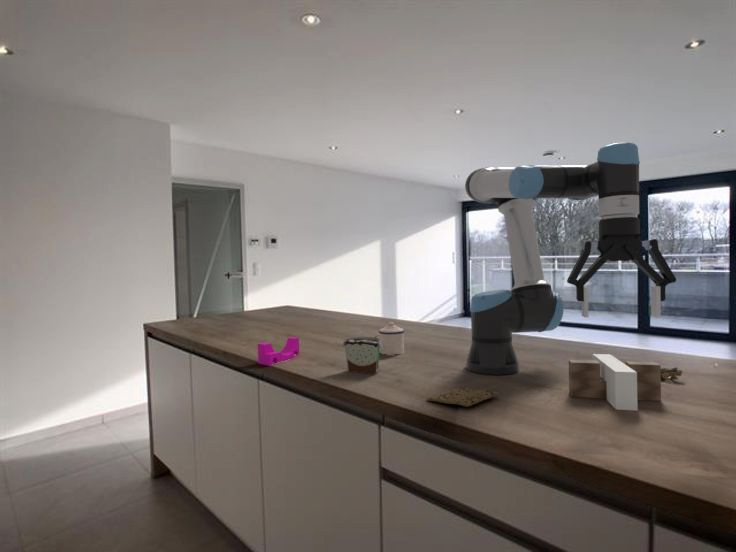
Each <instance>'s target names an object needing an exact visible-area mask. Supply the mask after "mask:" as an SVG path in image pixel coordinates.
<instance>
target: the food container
mask: <svg viewBox="0 0 736 552" xmlns="http://www.w3.org/2000/svg"><path fill="white" fill-rule="evenodd" d="M343 340H344V341H343V344H342V346H343V347H344V350H345V357H346V366H347V371H348V372H352V371H357V372H356V373H361V372H365V373H364V374H370V373H372V375H378V372H379V361H380V348H381V347H382V345H381V341H380V338H379V337H376V338H374V336H373V337H372V336H357V337H349V338H345V339H343Z"/></svg>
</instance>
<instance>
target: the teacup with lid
mask: <svg viewBox="0 0 736 552" xmlns="http://www.w3.org/2000/svg"><path fill="white" fill-rule="evenodd" d="M387 323H388V325H385V326H384V327H382V328H379V329H378V333H376V334H375V335H374V336H373V337H374V338H378V337H379V339H380V341H381V345H382V347H381V348H380V349H379V354H380V353H382V354H381V355H383V354H387V355H386V356H396V355H395V354H401V353H403V354H404V353H405V341H404V340H405V339H404V337H405V336H404V333H405V330H404V328H402V327H399V326H397V325H395V323H394V322H391V321H390V322H387ZM401 355H402V354H401Z"/></svg>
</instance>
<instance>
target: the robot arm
mask: <svg viewBox="0 0 736 552" xmlns="http://www.w3.org/2000/svg"><path fill="white" fill-rule="evenodd" d="M596 160H597V161H595V162H593V163H590V164H586V165H533V164H526V165H519V166H516V167H515V166H514V167H508V166H507V167H503V166H502V167H496V166H495V167H492V166H491V167H490V166H488V167H486V166H485V167H482V168H478V169H476V170H474V171H472V172H471V173H469V175H468V176H467V177H466V180H465V185H464V186H465V187H464V189H465V192H466V195H468V197H469V198H470V199H471V200H472V201H475V202H477V203H481V204H490V205H491V204H494V205H495V204H496V205H497V210H498V212H499V213H500V214H502V215H503V216H504V217H503V218H504V224H505V230H506V237H507V241H508V242H507V243H508V249H509V253H510V262H511V267H512V268H511V269H512V274H513V275H512V276H513V279H514V285H513V287H512V288H511V289H496V290H488V291H482V292H478V293H476V294H473V295H472V297H471V299H470V308H469V309H470V321H471V324H470V325H471V327H470V329H471V345H470V347H469V351H468V353H467V357H466V361H465V362H466V363H465V365H466V369H467V370H468V371H470V372H472V373H476V374H483V375H493V376H494V375H495V376H496V375H497V376H498V375H499V376H500V375H501V376H502V375H511V374H515V373H518V372H519V371H520V361H519V358H518V356H517V353H516V351H515V347H514V345H513V334H514V333H515V334H517V333H518V334H519V333H536V332H538V333H543V332H548V331H551V332H552V331H554V330H555V329H557V328H558V327H559V325H561V322H562V319H563V316H564V302H563V300H562V297H561V295H560V294H559V293H557V292H554V291H553V289H552V285H551V284H550V283H548V282H547V281H546V280H545V277H544V271H543V265H542V260H541V254H540V248H539V244H538V243H539V242H538V237H537V232H536V226H535V221H534V214H533V208H534V207H535V206H536V203H537V201H538V200H539V199H568V200H570V201H574V202H575V201H585V200H588V199H591V198H594V197H598V198H597V200H598V204H597V205H598V218H600V219H599V221H598V241H597V242H591V241H590V240H589V241H584V242H583V243H582V248H581V253H580V254H579V257H578V258H577V260H576V262H575V265H574V266H573V268H572V269H571V272H570V273H569V275H568V276H567V277H568V278H567V280H566V282H567V284H569V285H573V286H575V288H576V291H575V292H576V301H578V302H581V316H582V317H584V318H589V314H590V313H589V286H585V285H586V284H587V283H588V282H589V281H590V280H591V278H592V277H593V276H594V275H595V274H596V273H597V272H598V271H599V270H600V268H602V267H603V266H604V265H605V263H607V261H609V262H629V261H631V262H632V263H634V264H635V265H636V266H637V267H638V268H639V269H640V270H641V271H642V272H643V273H644V275H646V277H648V279H650V280H651V281H652V282H653V283H654V284H655V285H650V303H651V304H650V305H651V306H650V307H651V309H650V312H651V313H650V314H651V315H650V316H651V317H653V318H661V317H662V315H661V314H662V313H661V310H662V308H661V307H662V306H661V305H662V304H661V302H665V300H666V299H667V298H666V287H667V286H668V285H669V284H672V283H676V281H677V278H676V276H675V274H674V272H673V271H672V269H671V267H670V266H669V264H668V262H667V261H666V259H665V257H664V256H663V254H662V253H661V251H660V249H659V241H658V239H656V238H650V239H647V240H641V237H640V234H641V232H640V230H641V229H640V228H641V226H640V218H639V217H638V216H639V215H640V164H641V163H640V157H639V147H638V145H637V144H636V143H633V142H616V143H612V144H607V145H604V146H602V147H600V149H598V151H597V158H596ZM642 247H643V249H644V250H646V251H647V252H648V254H649V256H650V258H651V259H652V262H653V263H654V265H655V266H656V268H657V270H658V271H656V270H655V268H653V267H652V266H651V265H650V264H649V263H648V261H646V260H645V259H644V257H643V256H642V255H641V253H639V251H640V249H641V248H642ZM595 249H597V250H598V252H599V253H600V255H598V257H597V258H596V259H595V261H594V262H593V263H592V264H591V265H590V266H589V267H588V269H587V270H586V271H585V272H584V273H583V274H582V275H581V276H580V277H579V275H580V274H581V271H582V270H583V268H584V266H585V264H586V262H587V260H588V259H589V257H590V254H591V253H592V252H594V251H595ZM658 272H659V273H660V274H659V273H658ZM578 278H579V279H578Z"/></svg>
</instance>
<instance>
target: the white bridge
mask: <svg viewBox="0 0 736 552" xmlns="http://www.w3.org/2000/svg"><path fill="white" fill-rule="evenodd" d="M592 360H596V361H598V362H599V363H600V378H602V379H603V380H605V381H606V385H607V399H606V401H607V402H608V403H609V404H610V405H611V406H612V407H613V408H614V409H615V410H618V411H621V410H623V411H634V412H635V411H636V412H638V400H637V372H636V371H634V370H633V369H631V368H630V367H628V366H627V365H625V362H622V361H621V360H620V359H618V358H616V357H615V356H614V355H612V354H609V353H608V354H607V353H606V354H603V353H602V354H601V353H600V354H599V353H592Z"/></svg>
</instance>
